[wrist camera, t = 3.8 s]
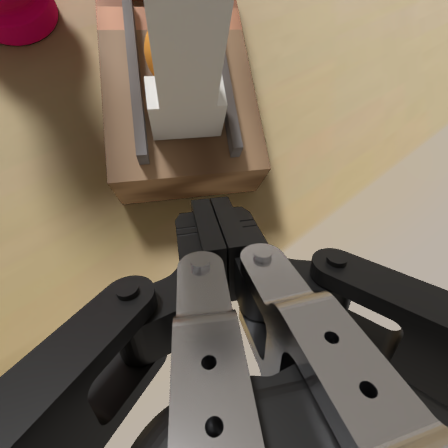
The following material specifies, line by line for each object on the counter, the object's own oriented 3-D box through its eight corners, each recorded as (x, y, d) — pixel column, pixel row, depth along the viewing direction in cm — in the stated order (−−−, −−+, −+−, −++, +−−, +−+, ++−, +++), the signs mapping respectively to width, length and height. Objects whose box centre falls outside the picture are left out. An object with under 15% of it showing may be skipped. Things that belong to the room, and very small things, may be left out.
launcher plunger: (154, 147, 17) (31, -419, 3) (150, 105, 18) (31, -512, 4) (222, 143, 18) (339, -345, 4) (215, 102, 18) (297, -435, 5)
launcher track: (122, 204, 20) (101, 175, 15) (105, -21, 25) (84, -101, 20) (255, 190, 22) (276, 160, 17) (216, -18, 26) (223, -91, 21)
